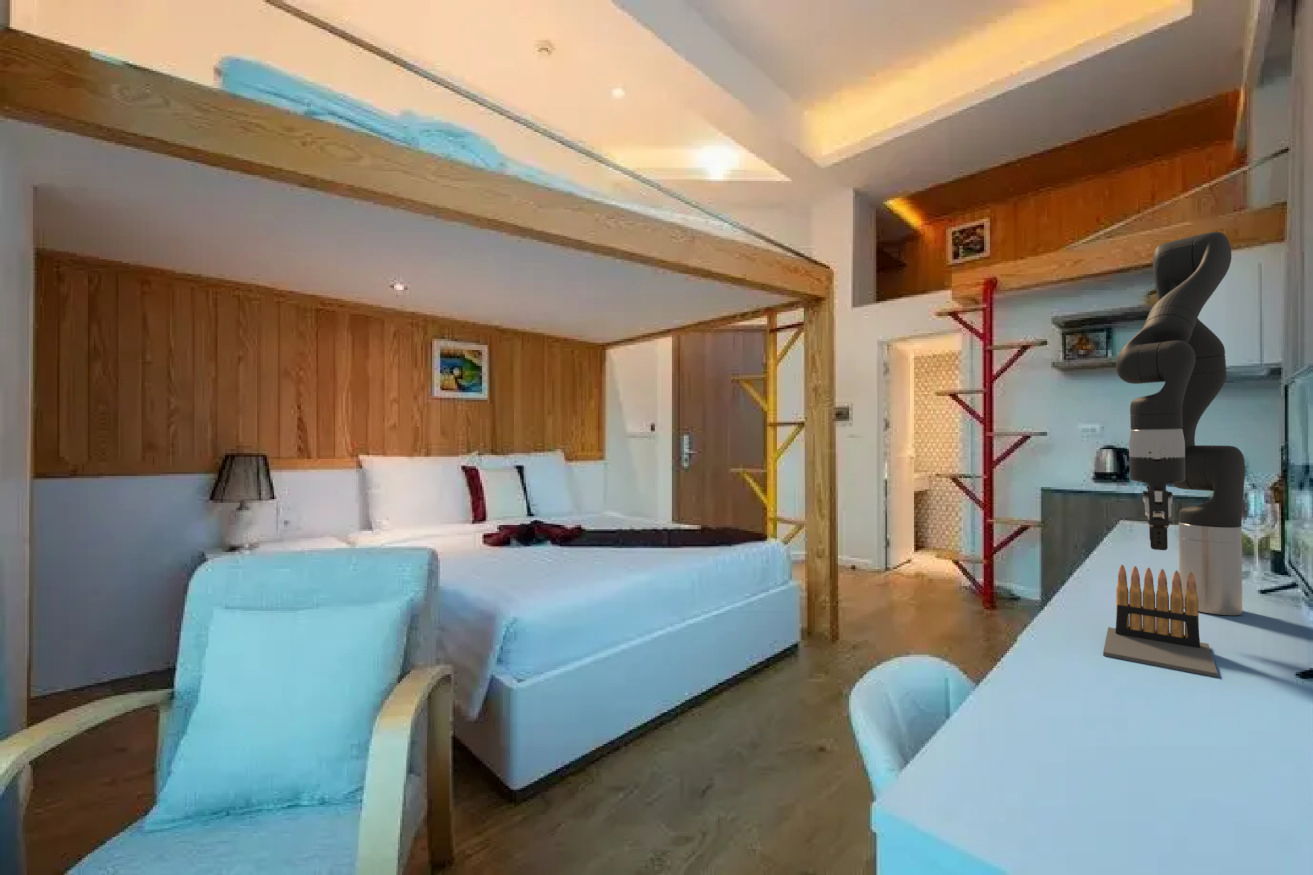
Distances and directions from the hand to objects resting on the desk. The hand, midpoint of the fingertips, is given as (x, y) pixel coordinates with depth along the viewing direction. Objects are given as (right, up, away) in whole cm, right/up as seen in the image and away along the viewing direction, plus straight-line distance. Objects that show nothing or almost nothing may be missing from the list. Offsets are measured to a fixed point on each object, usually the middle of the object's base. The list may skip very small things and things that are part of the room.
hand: (1158, 545), depth 102 cm
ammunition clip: (-5, -15, -6) cm, 17 cm away
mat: (-8, -15, -9) cm, 20 cm away
